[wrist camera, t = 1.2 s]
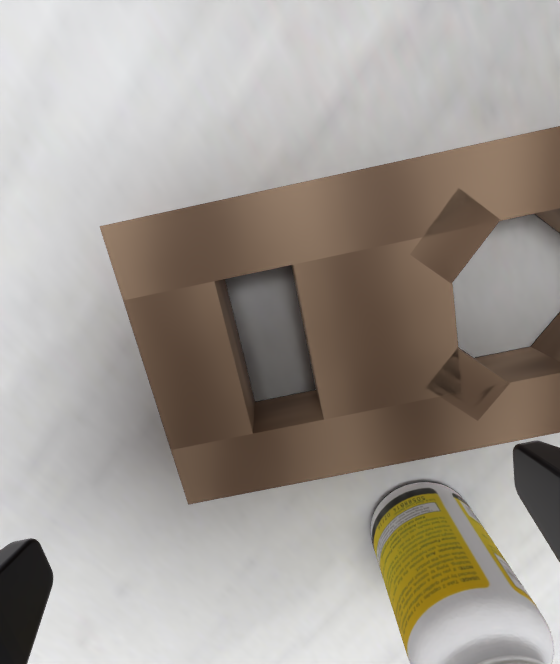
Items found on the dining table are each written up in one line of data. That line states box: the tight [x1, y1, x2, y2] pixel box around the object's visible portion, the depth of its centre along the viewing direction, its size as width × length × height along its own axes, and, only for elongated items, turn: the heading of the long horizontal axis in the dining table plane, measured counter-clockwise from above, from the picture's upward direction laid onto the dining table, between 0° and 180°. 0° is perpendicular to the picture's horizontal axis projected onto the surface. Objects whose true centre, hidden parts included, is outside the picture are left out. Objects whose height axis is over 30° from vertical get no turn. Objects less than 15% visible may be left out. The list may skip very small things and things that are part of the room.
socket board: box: [100, 126, 560, 504], centre depth 18 cm, size 21×12×3 cm, turn 102°
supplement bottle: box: [371, 482, 554, 664], centre depth 18 cm, size 5×5×10 cm
